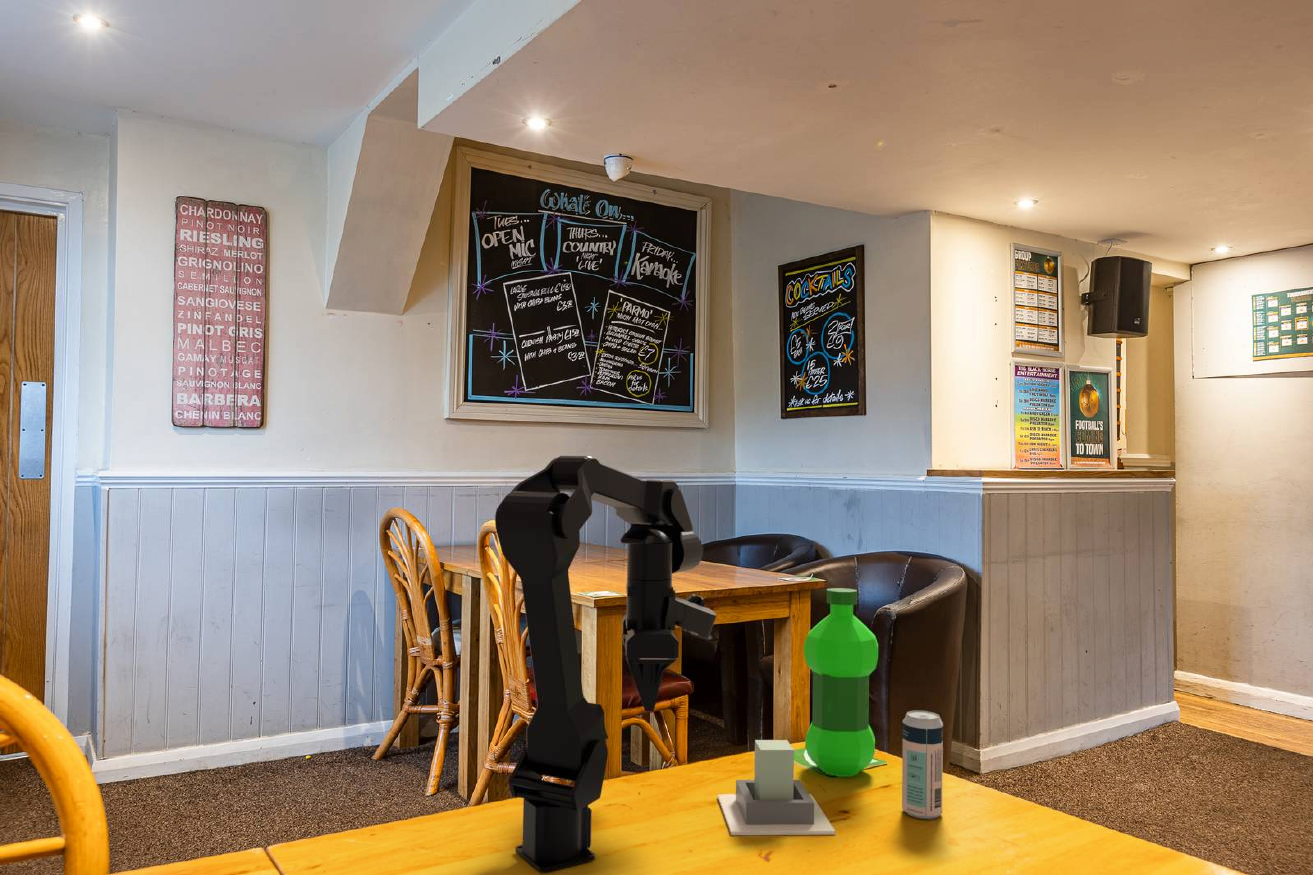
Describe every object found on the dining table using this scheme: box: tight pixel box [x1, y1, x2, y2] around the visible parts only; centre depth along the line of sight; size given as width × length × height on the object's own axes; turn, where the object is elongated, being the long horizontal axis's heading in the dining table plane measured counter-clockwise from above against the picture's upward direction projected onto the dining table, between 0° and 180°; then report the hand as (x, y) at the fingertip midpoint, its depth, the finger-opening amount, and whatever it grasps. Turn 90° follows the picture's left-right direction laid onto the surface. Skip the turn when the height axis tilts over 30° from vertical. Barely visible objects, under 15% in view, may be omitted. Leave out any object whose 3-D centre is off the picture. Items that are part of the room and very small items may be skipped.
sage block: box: [753, 739, 795, 800], centre depth 112 cm, size 4×4×8 cm
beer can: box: [901, 710, 944, 820], centre depth 114 cm, size 5×5×12 cm
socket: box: [717, 779, 836, 836], centre depth 112 cm, size 12×12×3 cm
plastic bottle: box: [803, 587, 879, 778], centre depth 130 cm, size 10×10×25 cm
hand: (647, 701), depth 118 cm, fingers open, 9 cm apart
